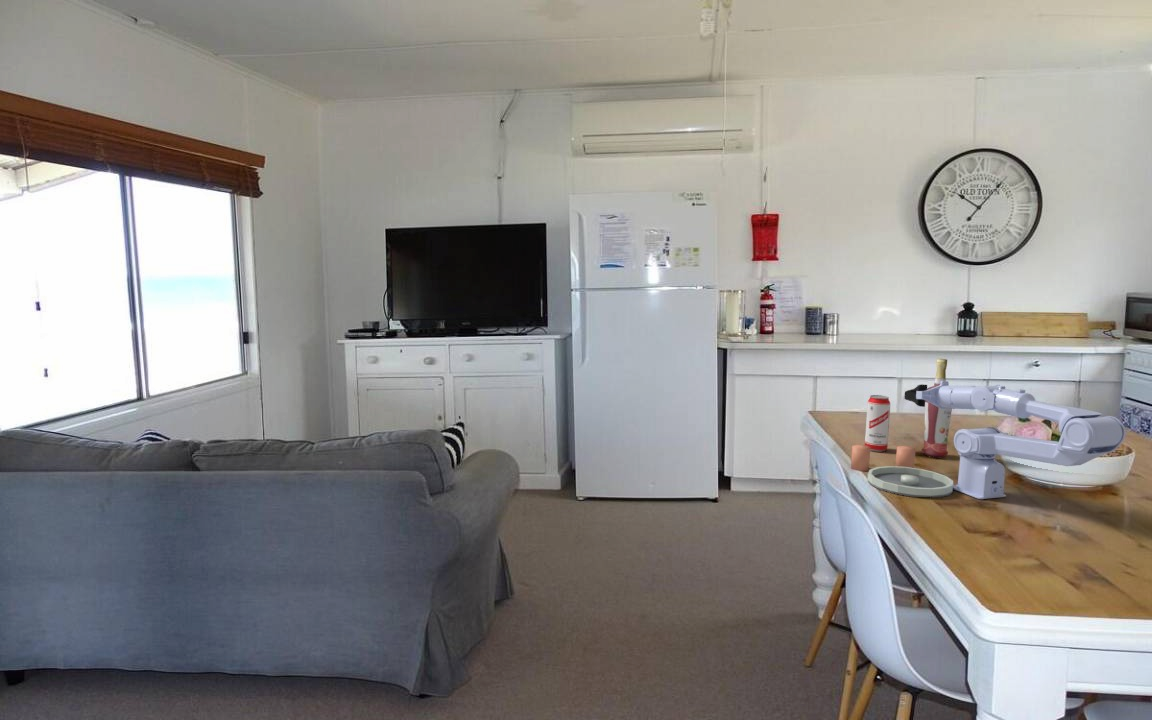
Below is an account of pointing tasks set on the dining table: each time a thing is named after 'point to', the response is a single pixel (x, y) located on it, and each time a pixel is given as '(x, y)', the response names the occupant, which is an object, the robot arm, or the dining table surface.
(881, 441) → the beer can
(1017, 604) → the dining table surface
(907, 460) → the salmon rounded capsule
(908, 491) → the groove tray
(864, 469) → the reddish brown rounded cylinder
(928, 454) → the liquor
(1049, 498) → the dining table surface
